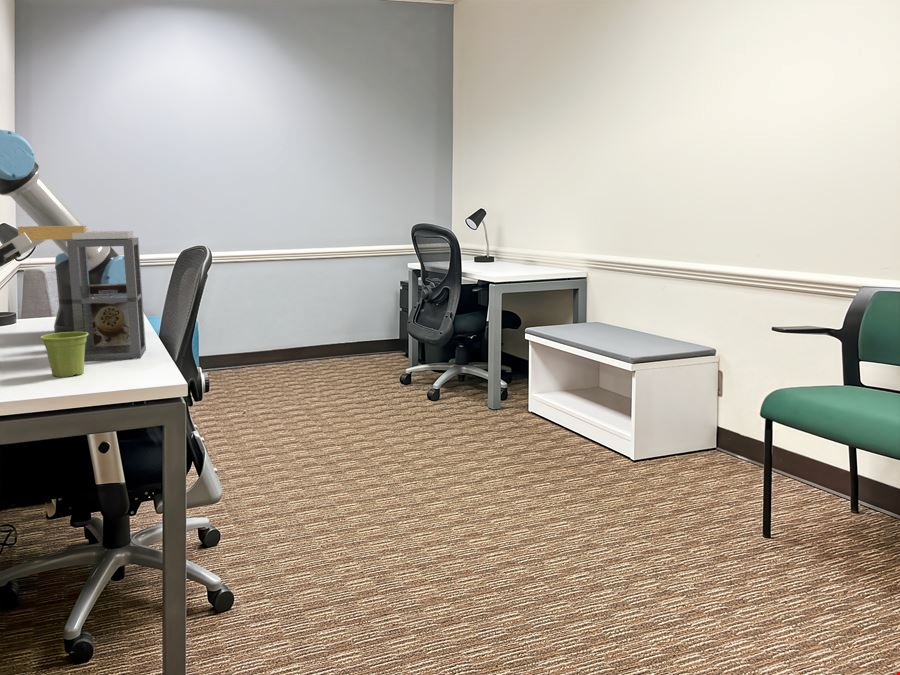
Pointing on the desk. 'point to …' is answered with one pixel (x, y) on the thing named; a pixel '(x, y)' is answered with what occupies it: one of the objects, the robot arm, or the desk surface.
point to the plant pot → (66, 352)
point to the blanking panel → (70, 233)
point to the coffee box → (110, 317)
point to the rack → (107, 298)
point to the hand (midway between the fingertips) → (35, 236)
